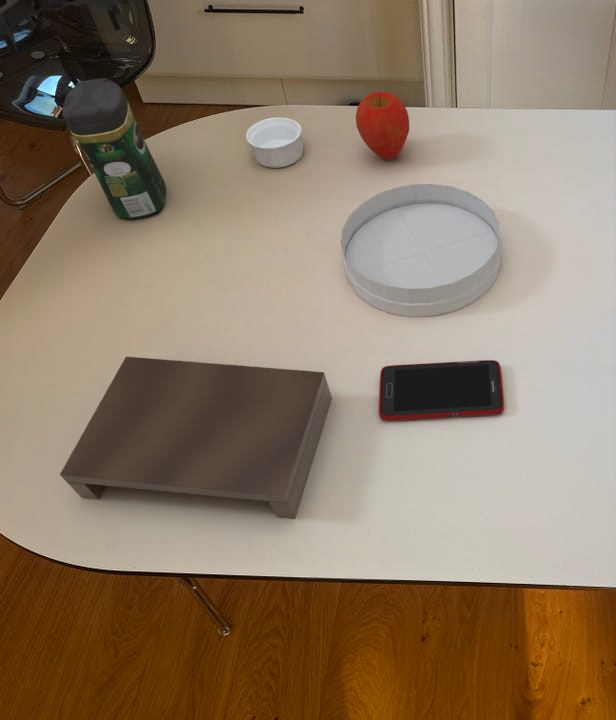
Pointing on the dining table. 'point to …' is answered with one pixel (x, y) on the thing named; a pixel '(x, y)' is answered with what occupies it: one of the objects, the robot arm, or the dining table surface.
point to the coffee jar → (114, 148)
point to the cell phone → (440, 390)
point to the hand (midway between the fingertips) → (63, 32)
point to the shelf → (203, 432)
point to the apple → (383, 123)
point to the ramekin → (275, 142)
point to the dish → (422, 249)
